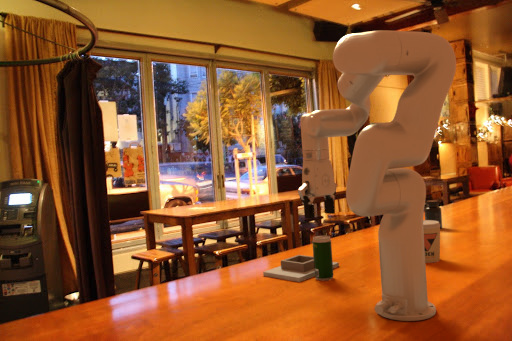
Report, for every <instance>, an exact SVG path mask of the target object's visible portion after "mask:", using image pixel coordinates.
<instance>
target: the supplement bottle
mask: <svg viewBox="0 0 512 341" xmlns="http://www.w3.org/2000/svg"><path fill="white" fill-rule="evenodd" d="M425 205H426V206H425V207H424V220H433V221H438V222H439V224H440V230H441V229H442V228H443V218H442V216H443V215H442V208H441V207H440V206H439V205H440V203H439V200H433V199H432V200H425Z"/></svg>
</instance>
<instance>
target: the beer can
mask: <svg viewBox="0 0 512 341" xmlns="http://www.w3.org/2000/svg"><path fill="white" fill-rule="evenodd" d="M332 249H333V247H332V239H331V236H330V235H317V236H316V235H315V236H313V237H312V257H313V258H314V272H315V276H314V277H315V280H316V281H322V282H323V281H324V282H326V281H327V282H328V281H332V280H333V279H334V268H333V262H334V261H333V250H332Z"/></svg>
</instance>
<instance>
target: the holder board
mask: <svg viewBox="0 0 512 341" xmlns="http://www.w3.org/2000/svg"><path fill="white" fill-rule="evenodd" d="M339 266H340V263H339V262H336V261H333V269H336V268H338V267H339ZM262 272H263V274H262V275H263V277H269V278H274V279H280V280H285V281H292V282H298V283H301V282H303V281H305V280H308V279H312V278H313V277H315V272H314V258H313V255H304V254H297V255H294V256H291V257H287V258H284V259H282V260H280V265H279V266H277V267H273V268H271V269H268V270H264V271H262Z"/></svg>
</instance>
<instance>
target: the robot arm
mask: <svg viewBox="0 0 512 341" xmlns="http://www.w3.org/2000/svg"><path fill="white" fill-rule="evenodd" d="M456 58H457V57H456V54H455V51H454V48H453V46H452V45H451V43H450V42H449V41H448V40H447V39H446V38H444V37H442V36H440V35H439V34H435V33H432V32H426V31H425V32H424V31H407V30H405V31H404V30H385V29H384V30H383V29H382V30H381V29H380V30H372V31H363V32H356V33H348V34H345V35H344V36H342V37H341V38H340V39H339V40H338V42H337V43H336V45H335V47H334V50H333V54H332V61H333V65H334V67H335V69H336V70H337V71H338V72H340V73H342V74H341V75H340V76H339V78H338V80H337V90H338V92H339V94H340V96H342V97H343V98H344V99H345V100H346V101H347V102H350V105H349V106H347V108H332V109H330V108H329V109H318V110H314V111H312V112H310V113H305V114H303V115H301V117H300V134H301V146H302V147H301V149H302V151H301V152H302V170H301V171H302V172H301V175H302V176H301V179H302V181H301V184H302V185H301V186H300V187H299V188H298V189H297V193H298V196H299V200H300V201H301V204H302V205H303V212H304V219H307V220H308V219H310V220H314V219H315V218H316V215H315V204H314V203H313V202H314V200H315V198H317V197H319V198H320V197H323V198H324V200H323V203H324V204H323V206H324V214H326V215H327V214H328V215H329V214H330V215H331V214H332V215H333V214H335V211H336V210H335V200H336V194H337V187H338V184H337V183H336V182H335V175H334V169H333V164H332V161H331V160H330V146H329V145H330V144H329V138H338V137H350V136H352V135H355V133H357V132H358V131H359V130H360V129H361V128H362V127H363V125H364V124H366V122H367V121H368V118H369V116H370V113H371V112H370V111H371V97H370V96H371V94H372V93H373V92H374V91H375V89H376V88H377V86H379V85H380V83H381V82H382V80H383V79H384V78H385V77H386V76H413V79H412V80H411V82H410V83H408V85H407V86H406V87H405V88H404V90H403V92H402V93H401V95H400V96H399V98H398V102H397V105H396V110H395V114H394V117H393V119H392V120H391V121H389V122H387V121H386V122H375V123H372V124H368V125H367V126H366V127H364V128H363V129H362V130H360V132H359V134H358V136H357V137H356V140H355V142H354V148H353V151H352V155H351V156H352V157H351V161H350V166H349V170H348V171H349V172H348V175H347V180H346V189H345V199H346V203H347V206H348V208H349V209H350V211H351V212H352V213H353V214H355V215H357V216H360V217H375V216H382V215H383V216H382V218H381V220H380V223H379V227H378V231H377V232H378V235H377V236H378V251H379V254H378V255H379V269H380V282H381V300H380V301H378V302H377V303H376V304H375V306H374V311H375V313H376V314H377V315H380V316H381V317H383V318H386V319H388V320H389V319H390V320H393V321H400V322H411V321H412V322H415V321H424V320H428V319H430V318H433V317H434V316H435V315H436V312H437V308H436V306H435V304H434V303H432V302H431V301H428V300H429V299H428V287H427V286H428V285H427V283H428V282H427V272H426V271H427V270H426V263H425V250H424V231H423V220H424V215H425V205H426V197H427V186H426V183H425V180H424V178H423V177H422V175H421V174H420V173H419V172H417V171H415V170H413V169H411V167H416V166H420V165H421V164H424V163H425V161H426V160H427V159H428V157H430V156H429V155H430V152H431V151H432V150H431V149H432V147H433V143H434V139H435V136H436V133H437V132H436V131H437V129H438V126H439V122H440V119H441V113H442V109H443V107H444V104H445V101H446V99H447V97H448V94H449V92H450V89H451V88H452V84H453V82H454V79H455V75H456V71H457V59H456Z"/></svg>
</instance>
